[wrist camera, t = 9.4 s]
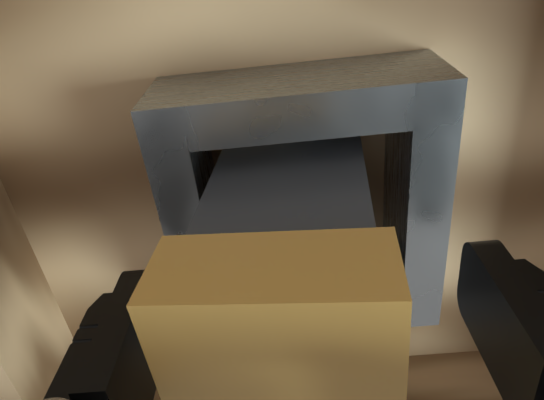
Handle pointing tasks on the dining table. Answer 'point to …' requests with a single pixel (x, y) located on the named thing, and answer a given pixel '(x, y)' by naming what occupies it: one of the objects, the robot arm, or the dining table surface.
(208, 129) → the frame
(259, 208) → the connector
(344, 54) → the walled box
